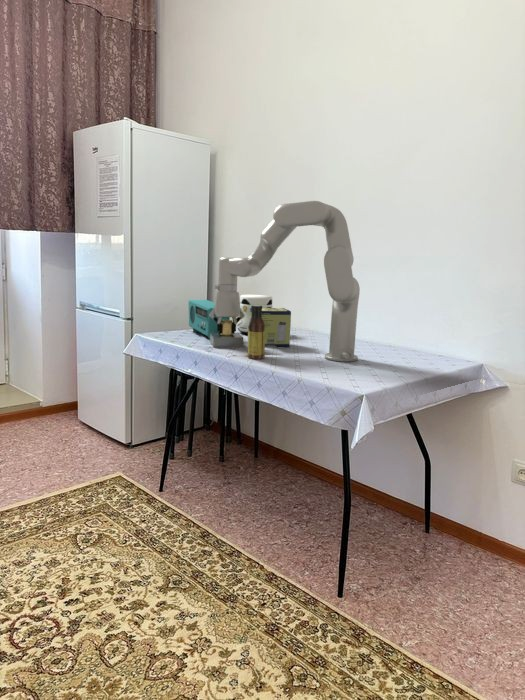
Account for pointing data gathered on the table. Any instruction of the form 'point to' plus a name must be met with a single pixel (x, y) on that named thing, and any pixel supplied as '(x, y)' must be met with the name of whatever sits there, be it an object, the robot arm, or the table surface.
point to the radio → (203, 317)
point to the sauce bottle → (256, 334)
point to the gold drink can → (226, 327)
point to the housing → (226, 341)
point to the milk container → (246, 305)
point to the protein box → (276, 326)
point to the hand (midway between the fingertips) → (226, 332)
